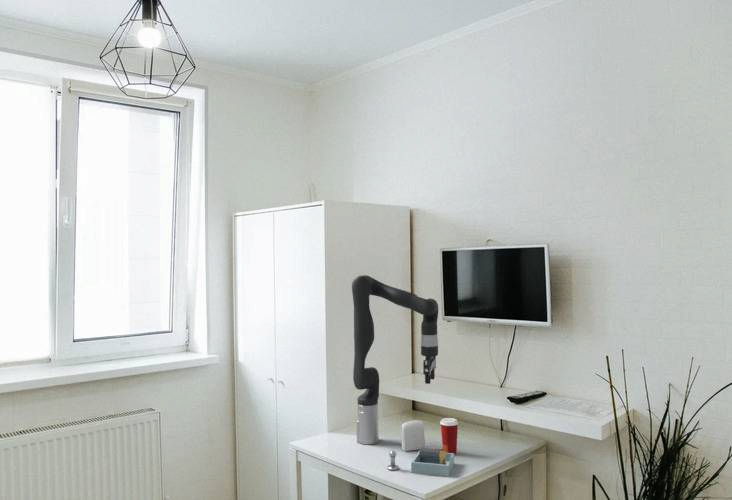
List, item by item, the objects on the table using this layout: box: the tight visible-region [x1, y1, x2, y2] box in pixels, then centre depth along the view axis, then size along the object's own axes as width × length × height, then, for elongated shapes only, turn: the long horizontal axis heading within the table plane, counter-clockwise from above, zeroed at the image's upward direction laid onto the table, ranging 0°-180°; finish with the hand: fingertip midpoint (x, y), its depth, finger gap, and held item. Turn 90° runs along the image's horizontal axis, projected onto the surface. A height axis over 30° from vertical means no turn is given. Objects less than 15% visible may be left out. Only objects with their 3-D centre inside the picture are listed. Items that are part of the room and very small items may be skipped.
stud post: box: [386, 450, 399, 472], centre depth 228 cm, size 4×4×7 cm
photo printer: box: [400, 419, 426, 452], centre depth 251 cm, size 10×4×12 cm, turn 107°
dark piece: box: [418, 447, 446, 465], centre depth 228 cm, size 4×10×6 cm, turn 72°
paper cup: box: [439, 417, 459, 456], centre depth 245 cm, size 8×8×14 cm
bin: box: [410, 451, 455, 477], centre depth 228 cm, size 14×14×4 cm
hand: (429, 381), depth 254 cm, fingers open, 8 cm apart
